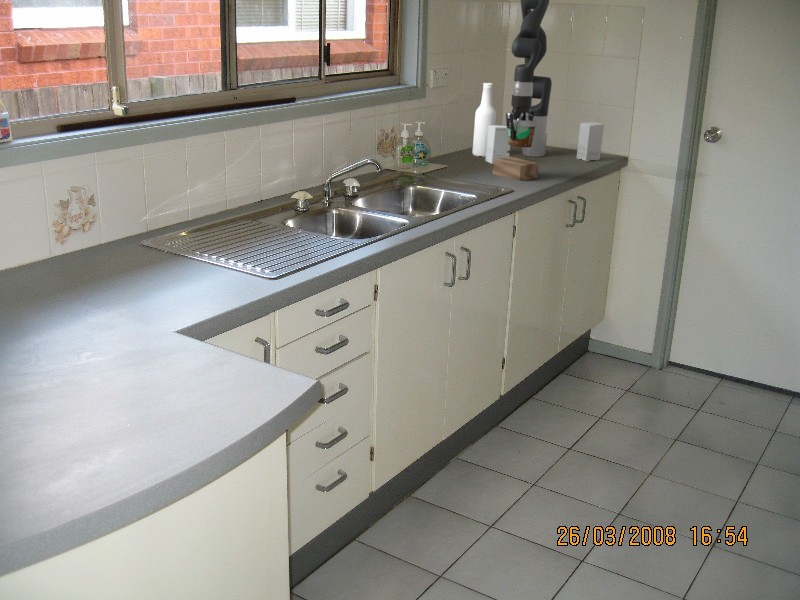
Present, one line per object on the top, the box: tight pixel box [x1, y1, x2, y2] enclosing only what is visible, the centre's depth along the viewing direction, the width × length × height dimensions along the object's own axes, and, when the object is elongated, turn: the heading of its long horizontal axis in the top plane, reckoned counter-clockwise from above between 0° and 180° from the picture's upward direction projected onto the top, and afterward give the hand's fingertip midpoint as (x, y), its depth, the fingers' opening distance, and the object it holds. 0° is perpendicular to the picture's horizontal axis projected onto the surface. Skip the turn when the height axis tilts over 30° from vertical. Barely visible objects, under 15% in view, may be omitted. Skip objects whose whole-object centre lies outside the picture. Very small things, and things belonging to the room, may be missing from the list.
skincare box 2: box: [576, 121, 605, 162], centre depth 372 cm, size 8×7×16 cm
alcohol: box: [471, 82, 497, 158], centre depth 369 cm, size 9×9×30 cm
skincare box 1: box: [485, 124, 511, 165], centre depth 358 cm, size 8×6×15 cm
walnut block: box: [492, 156, 540, 182], centre depth 336 cm, size 10×14×6 cm
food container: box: [509, 119, 537, 148], centre depth 331 cm, size 12×6×10 cm, turn 47°
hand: (518, 139), depth 332 cm, fingers closed on food container, 5 cm apart
